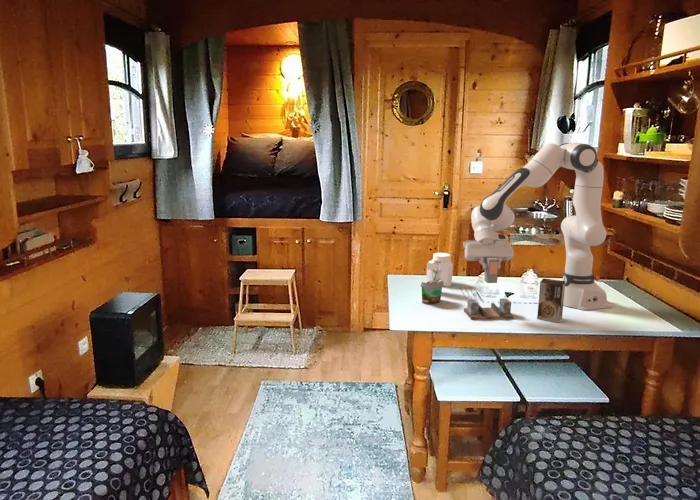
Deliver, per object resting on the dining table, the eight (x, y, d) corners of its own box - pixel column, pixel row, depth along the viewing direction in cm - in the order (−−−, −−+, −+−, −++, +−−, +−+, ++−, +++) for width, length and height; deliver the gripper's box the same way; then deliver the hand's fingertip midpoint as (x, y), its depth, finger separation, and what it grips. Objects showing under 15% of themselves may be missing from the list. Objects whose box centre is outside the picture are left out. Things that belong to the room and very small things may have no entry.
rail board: (504, 309, 236) (505, 296, 235) (513, 318, 226) (515, 304, 224) (463, 310, 235) (464, 296, 233) (471, 319, 224) (472, 305, 223)
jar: (429, 285, 270) (430, 256, 266) (428, 280, 279) (429, 251, 275) (452, 286, 269) (454, 257, 265) (450, 281, 278) (452, 252, 275)
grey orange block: (493, 280, 229) (495, 257, 227) (497, 283, 225) (499, 259, 222) (484, 280, 229) (485, 257, 226) (487, 283, 224) (489, 259, 222)
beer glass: (440, 295, 256) (441, 264, 252) (425, 293, 257) (426, 263, 254) (440, 290, 262) (442, 260, 259) (426, 289, 264) (427, 259, 260)
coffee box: (562, 318, 227) (566, 281, 223) (559, 323, 221) (563, 284, 218) (539, 314, 231) (543, 277, 228) (536, 318, 226) (539, 281, 222)
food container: (430, 307, 239) (431, 285, 236) (419, 303, 243) (420, 282, 241) (448, 301, 246) (449, 280, 244) (438, 298, 251) (439, 277, 249)
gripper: (463, 236, 228) (469, 264, 221) (511, 235, 230) (518, 264, 223) (460, 244, 234) (465, 272, 227) (506, 243, 236) (513, 271, 228)
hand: (492, 268), depth 225 cm, fingers closed on grey orange block, 4 cm apart
